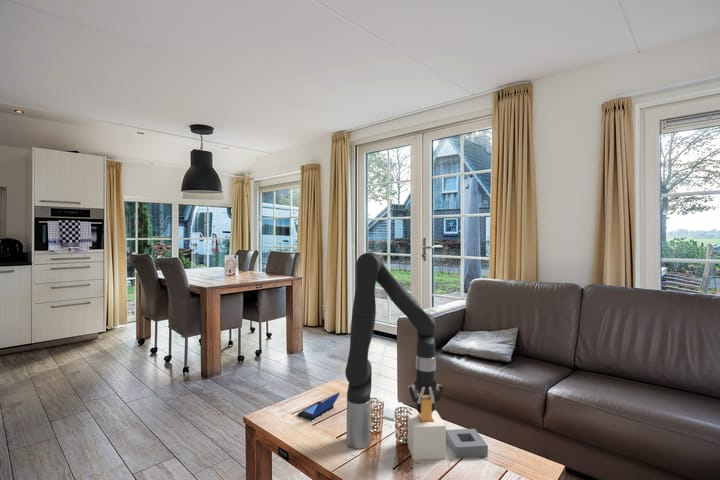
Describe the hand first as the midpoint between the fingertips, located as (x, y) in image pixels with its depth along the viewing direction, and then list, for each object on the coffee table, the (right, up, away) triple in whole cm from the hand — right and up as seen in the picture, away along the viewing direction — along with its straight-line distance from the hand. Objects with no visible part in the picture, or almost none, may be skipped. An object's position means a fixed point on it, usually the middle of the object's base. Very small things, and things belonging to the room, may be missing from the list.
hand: (425, 411), depth 139 cm
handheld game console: (-44, -15, +29) cm, 54 cm away
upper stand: (0, -15, 0) cm, 15 cm away
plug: (0, -4, 0) cm, 4 cm away
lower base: (+16, -15, +1) cm, 22 cm away
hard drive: (-13, -15, +28) cm, 34 cm away
